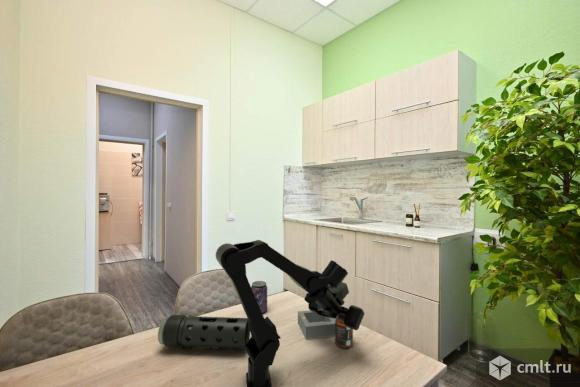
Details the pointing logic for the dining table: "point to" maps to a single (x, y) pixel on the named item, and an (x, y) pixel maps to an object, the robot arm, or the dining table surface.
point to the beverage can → (260, 294)
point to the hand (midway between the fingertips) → (344, 321)
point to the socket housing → (315, 325)
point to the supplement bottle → (343, 333)
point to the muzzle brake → (204, 332)
